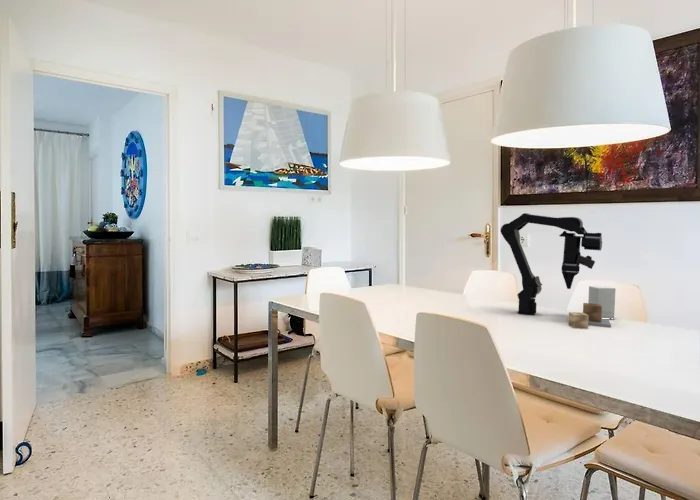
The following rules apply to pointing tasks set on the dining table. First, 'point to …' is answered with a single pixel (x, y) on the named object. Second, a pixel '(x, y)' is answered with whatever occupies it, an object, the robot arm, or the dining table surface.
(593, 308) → the walnut cube
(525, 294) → the robot arm
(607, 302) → the supplement box
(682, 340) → the dining table surface
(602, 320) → the plate
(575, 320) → the oak cube
